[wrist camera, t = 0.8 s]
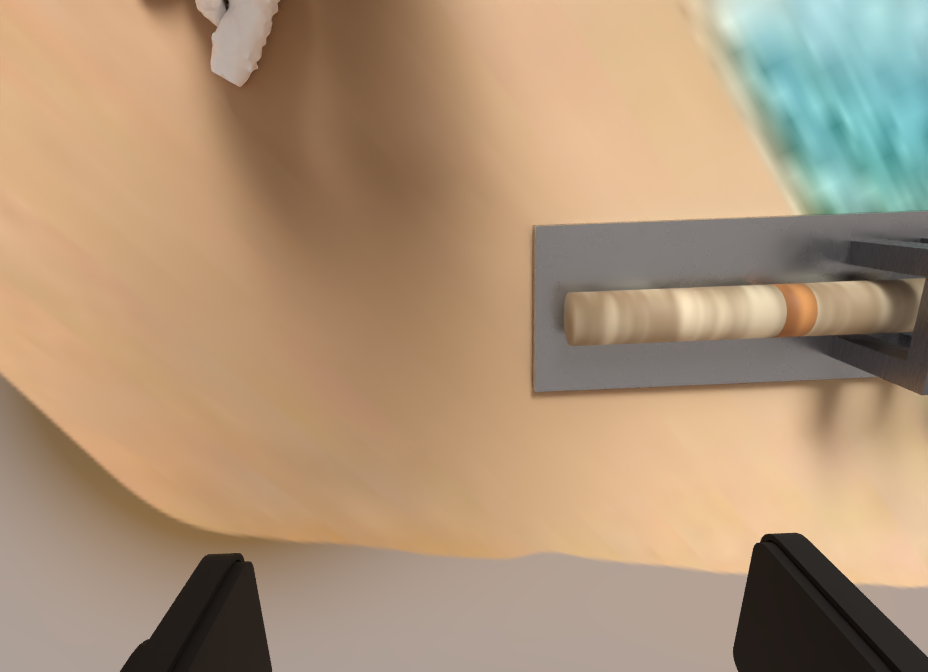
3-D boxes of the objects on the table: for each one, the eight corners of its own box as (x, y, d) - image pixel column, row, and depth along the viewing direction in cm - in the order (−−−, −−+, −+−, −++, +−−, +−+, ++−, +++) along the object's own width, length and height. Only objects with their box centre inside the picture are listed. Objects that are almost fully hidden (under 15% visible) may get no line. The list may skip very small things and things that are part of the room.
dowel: (562, 336, 34) (575, 354, 31) (564, 287, 33) (577, 300, 30) (891, 322, 35) (939, 338, 31) (904, 273, 34) (955, 284, 30)
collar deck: (533, 225, 33) (562, 235, 24) (1102, 203, 34) (1322, 205, 25) (533, 387, 36) (558, 445, 28) (1050, 365, 37) (1228, 414, 28)
